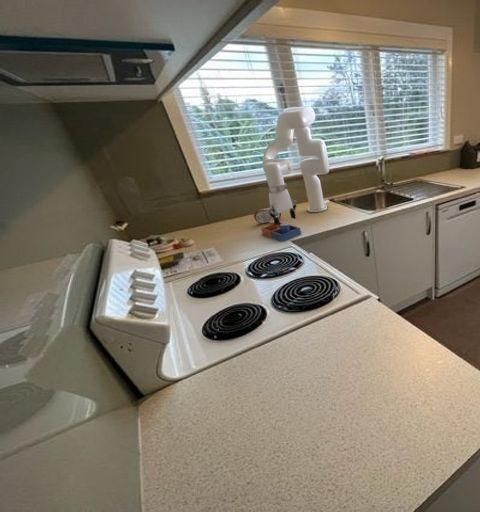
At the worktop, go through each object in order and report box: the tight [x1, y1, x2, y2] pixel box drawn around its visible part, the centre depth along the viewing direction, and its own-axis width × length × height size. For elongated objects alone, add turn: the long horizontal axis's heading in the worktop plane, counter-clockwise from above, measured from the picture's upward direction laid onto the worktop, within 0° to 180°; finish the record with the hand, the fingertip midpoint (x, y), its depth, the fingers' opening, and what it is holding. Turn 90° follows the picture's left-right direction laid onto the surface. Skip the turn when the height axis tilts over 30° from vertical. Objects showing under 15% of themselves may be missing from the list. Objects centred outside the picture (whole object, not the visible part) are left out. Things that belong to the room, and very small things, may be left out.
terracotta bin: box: [260, 221, 283, 239], centre depth 158 cm, size 11×9×4 cm
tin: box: [253, 207, 282, 225], centre depth 173 cm, size 15×3×8 cm, turn 121°
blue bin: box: [271, 224, 302, 242], centre depth 152 cm, size 11×9×4 cm
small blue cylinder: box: [280, 222, 290, 234], centre depth 151 cm, size 4×4×6 cm
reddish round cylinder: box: [268, 220, 280, 230], centre depth 157 cm, size 4×4×6 cm
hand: (285, 221), depth 152 cm, fingers open, 9 cm apart
